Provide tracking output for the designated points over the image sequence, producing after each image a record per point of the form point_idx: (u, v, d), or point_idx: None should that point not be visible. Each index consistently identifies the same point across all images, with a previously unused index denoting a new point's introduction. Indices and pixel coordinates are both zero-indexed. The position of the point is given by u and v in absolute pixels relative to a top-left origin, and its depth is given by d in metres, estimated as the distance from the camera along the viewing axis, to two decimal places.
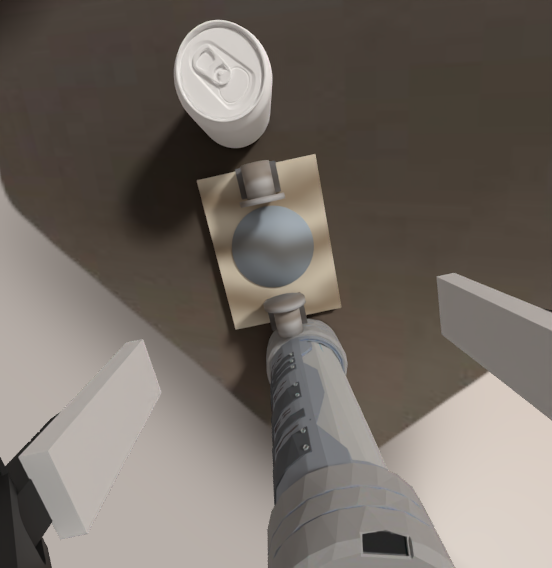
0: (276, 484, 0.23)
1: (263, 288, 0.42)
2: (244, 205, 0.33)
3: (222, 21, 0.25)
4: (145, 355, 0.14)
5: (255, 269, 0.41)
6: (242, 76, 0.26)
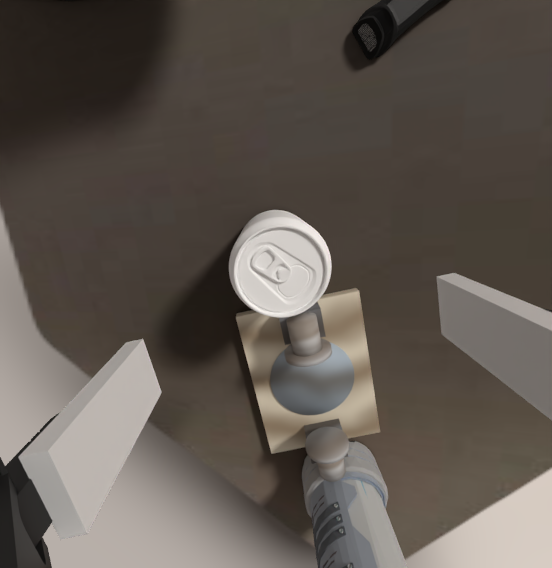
0: None
1: (301, 415, 0.41)
2: (291, 363, 0.32)
3: (284, 226, 0.24)
4: (145, 355, 0.14)
5: (293, 399, 0.40)
6: (302, 272, 0.25)
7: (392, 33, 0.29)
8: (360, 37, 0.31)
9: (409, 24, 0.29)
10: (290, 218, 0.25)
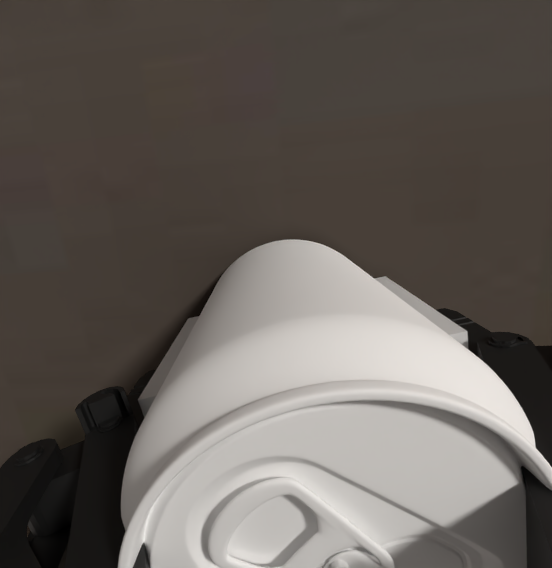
0: None
1: None
2: None
3: (384, 397, 0.04)
4: None
5: None
6: (439, 564, 0.06)
7: None
8: None
9: None
10: (389, 325, 0.05)
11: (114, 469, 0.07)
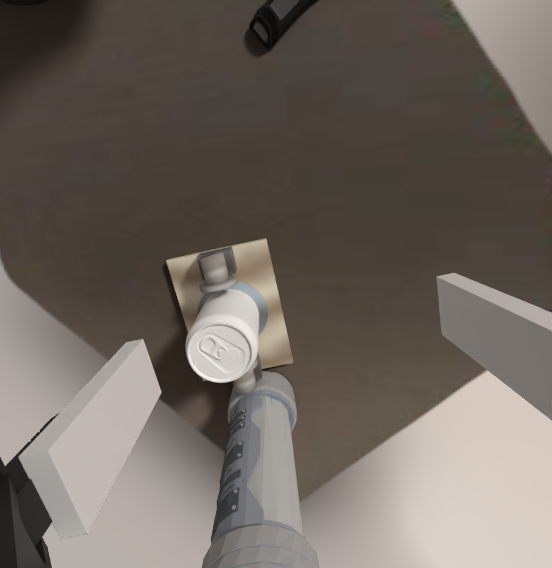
0: (212, 534, 0.30)
1: None
2: (202, 291, 0.40)
3: (221, 323, 0.35)
4: (145, 355, 0.14)
5: None
6: (235, 352, 0.36)
7: (277, 26, 0.38)
8: (256, 32, 0.39)
9: (290, 18, 0.38)
10: (227, 315, 0.36)
11: None
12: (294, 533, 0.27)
